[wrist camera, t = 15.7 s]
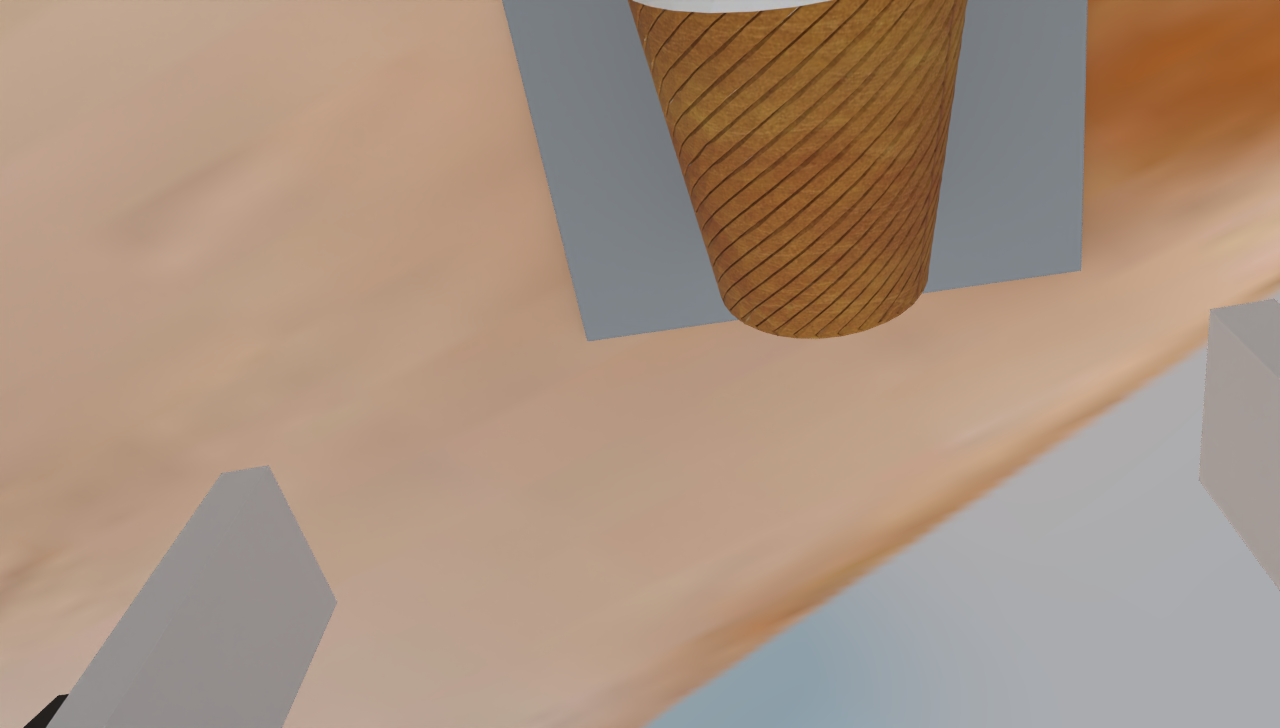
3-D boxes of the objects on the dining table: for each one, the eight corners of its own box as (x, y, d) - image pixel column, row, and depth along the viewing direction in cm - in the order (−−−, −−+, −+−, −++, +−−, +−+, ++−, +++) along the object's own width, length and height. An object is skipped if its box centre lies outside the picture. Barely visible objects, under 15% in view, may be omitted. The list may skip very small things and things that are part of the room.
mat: (589, 333, 36) (587, 341, 36) (439, -273, 27) (433, -274, 26) (1075, 263, 34) (1081, 270, 33) (1089, -432, 24) (1097, -437, 24)
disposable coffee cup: (620, 271, 33) (530, -115, 26) (859, 172, 35) (838, -209, 28) (771, 425, 26) (704, -55, 18) (1060, 286, 28) (1102, -187, 21)
